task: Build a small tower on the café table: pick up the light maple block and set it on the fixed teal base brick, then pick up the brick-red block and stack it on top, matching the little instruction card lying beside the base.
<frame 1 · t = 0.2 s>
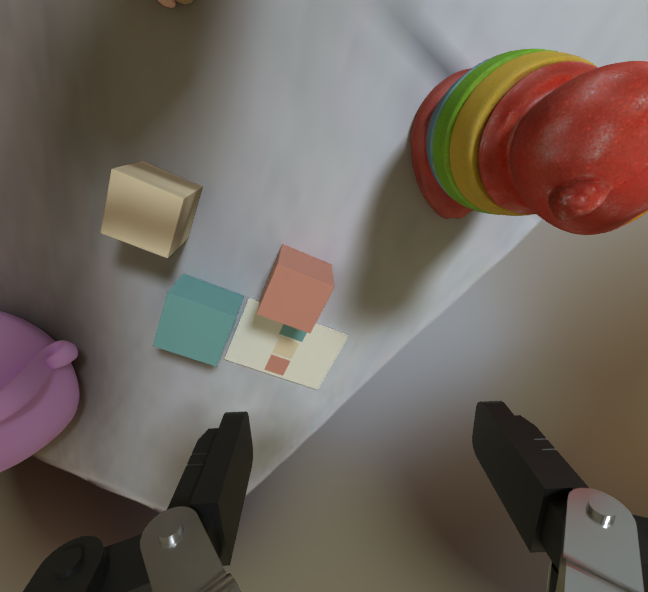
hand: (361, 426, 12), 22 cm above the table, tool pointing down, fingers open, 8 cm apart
teal base brick: (205, 309, 35), on the table
stacking bear: (467, 138, 28), on the table
maple block: (166, 201, 30), on the table
red block: (297, 276, 34), on the table
instruction page: (285, 346, 37), on the table
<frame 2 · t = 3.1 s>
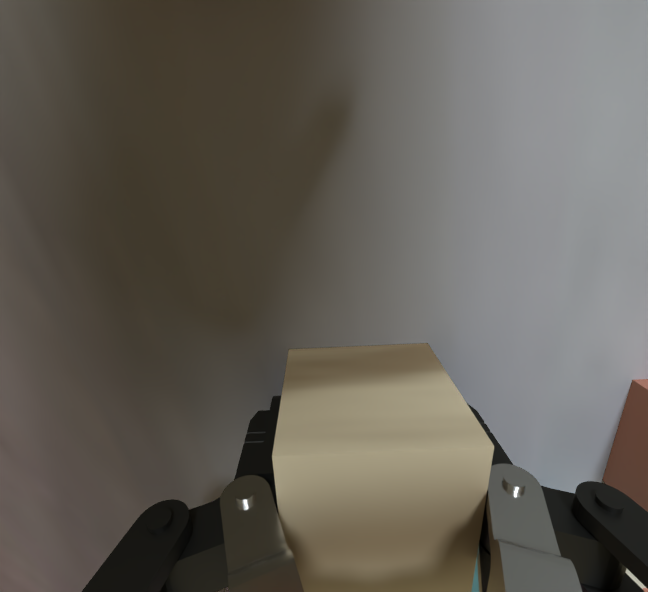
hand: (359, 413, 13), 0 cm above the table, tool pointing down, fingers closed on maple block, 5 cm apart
maple block: (358, 404, 13), on the table, touching gripper
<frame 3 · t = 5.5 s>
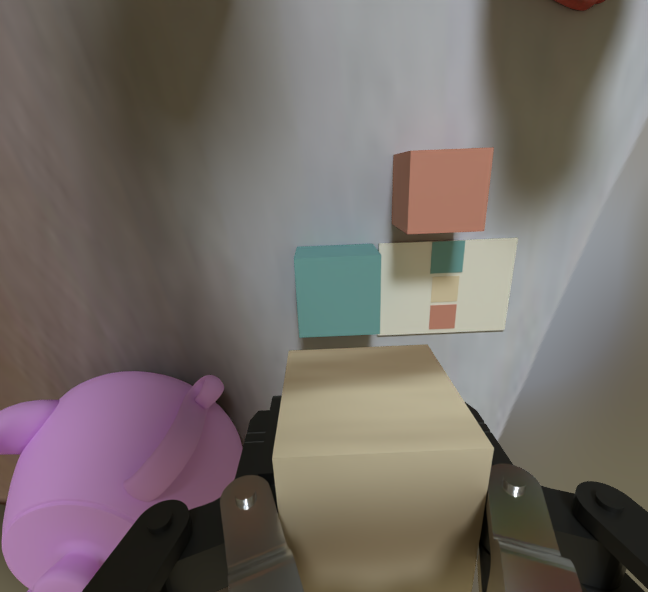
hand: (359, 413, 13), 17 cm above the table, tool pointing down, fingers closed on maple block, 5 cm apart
teal base brick: (335, 281, 29), on the table
teapot: (139, 419, 33), on the table
maple block: (358, 405, 13), point 16 cm above the table, touching gripper
red block: (425, 188, 26), on the table
instruction page: (443, 288, 29), on the table
when the fingers open (5 cm above the table, at t = 7.9 s): maple block stays where it is, resting on teal base brick.
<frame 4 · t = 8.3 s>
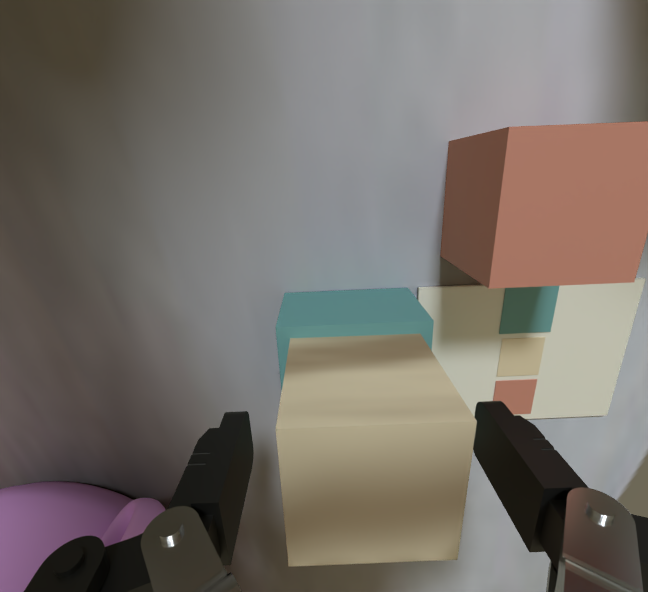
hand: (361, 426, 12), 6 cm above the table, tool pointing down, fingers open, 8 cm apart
teal base brick: (347, 345, 18), on the table
teapot: (56, 536, 22), on the table
maple block: (355, 391, 14), point 4 cm above the table, touching teal base brick
red block: (498, 199, 16), on the table
instruction page: (518, 354, 18), on the table
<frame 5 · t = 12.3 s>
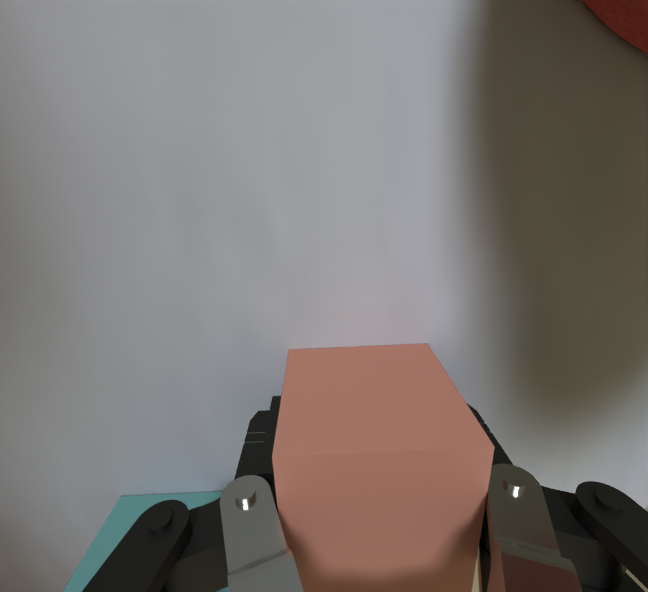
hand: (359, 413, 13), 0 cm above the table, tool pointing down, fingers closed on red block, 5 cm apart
teal base brick: (203, 543, 16), on the table
red block: (358, 404, 13), on the table, touching gripper
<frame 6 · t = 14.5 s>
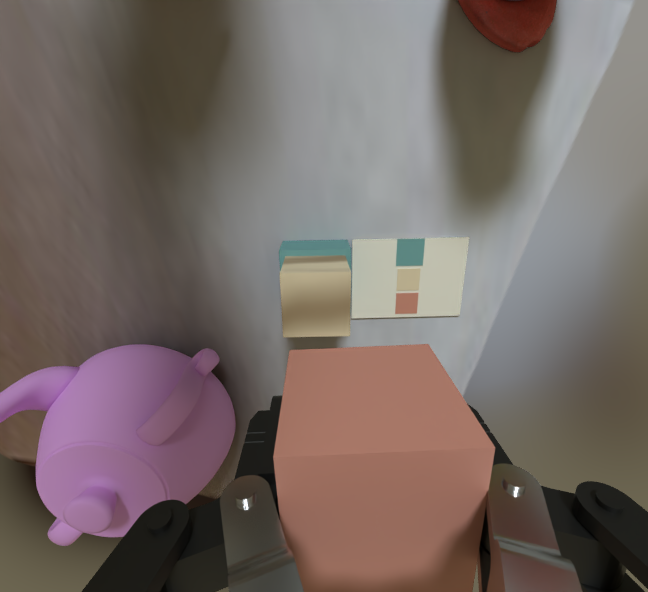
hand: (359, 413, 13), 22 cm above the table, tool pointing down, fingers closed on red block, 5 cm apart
teal base brick: (315, 271, 34), on the table
teapot: (145, 388, 38), on the table
maple block: (315, 284, 30), point 4 cm above the table, touching teal base brick
red block: (359, 405, 13), point 21 cm above the table, touching gripper
instruction page: (407, 278, 34), on the table
when the fingers open (10 cm above the table, at t = 17.2 s): red block stays where it is, resting on maple block.
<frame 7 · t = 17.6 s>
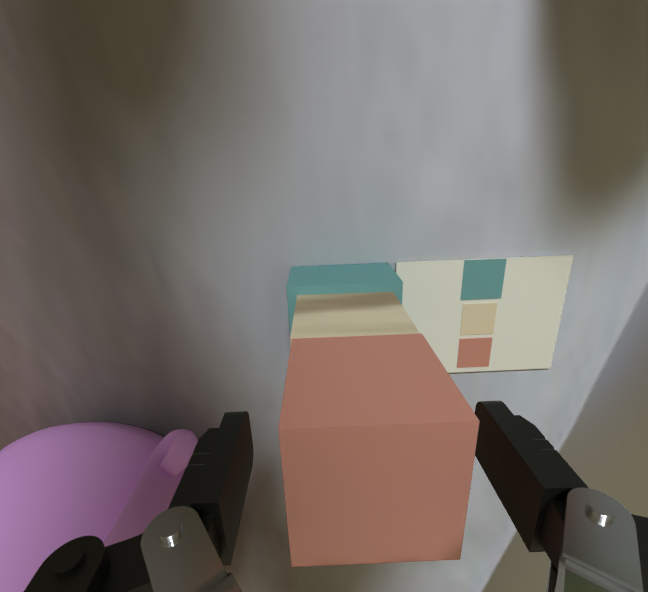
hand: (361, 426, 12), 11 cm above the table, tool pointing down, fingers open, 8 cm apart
teal base brick: (340, 309, 23), on the table
teapot: (101, 473, 27), on the table
maple block: (345, 336, 19), point 4 cm above the table, touching red block, teal base brick
red block: (357, 391, 14), point 9 cm above the table, touching maple block
instruction page: (476, 317, 23), on the table
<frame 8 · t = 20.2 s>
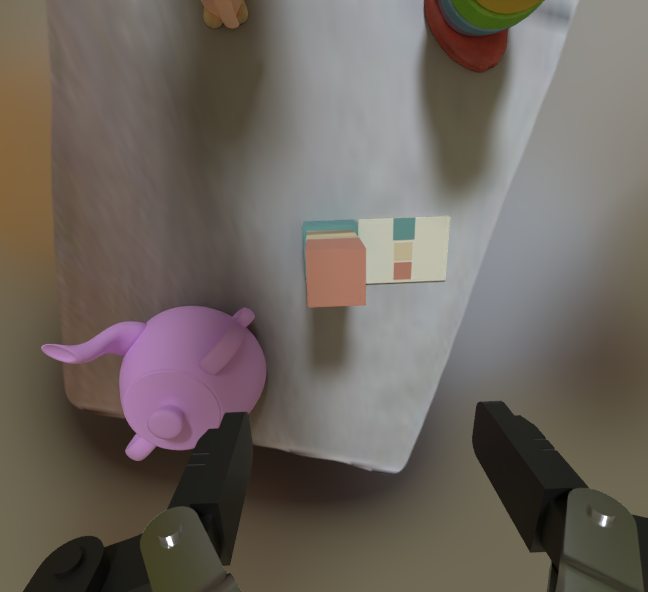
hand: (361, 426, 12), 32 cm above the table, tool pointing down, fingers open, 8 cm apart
grandmother figurine: (231, 10, 35), on the table
teal base brick: (329, 245, 42), on the table
teapot: (192, 346, 47), on the table
stacking bear: (471, 1, 35), on the table
maple block: (330, 252, 39), point 4 cm above the table, touching red block, teal base brick
red block: (333, 264, 34), point 9 cm above the table, touching maple block
instruction page: (402, 250, 43), on the table
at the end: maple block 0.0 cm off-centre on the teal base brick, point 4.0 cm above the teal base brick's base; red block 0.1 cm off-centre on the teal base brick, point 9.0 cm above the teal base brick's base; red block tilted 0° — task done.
